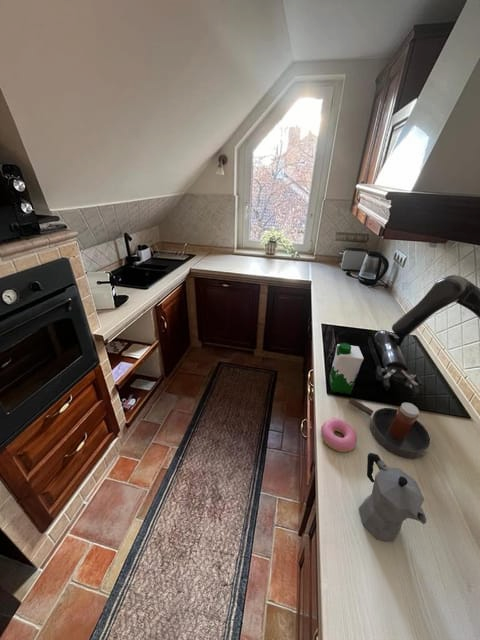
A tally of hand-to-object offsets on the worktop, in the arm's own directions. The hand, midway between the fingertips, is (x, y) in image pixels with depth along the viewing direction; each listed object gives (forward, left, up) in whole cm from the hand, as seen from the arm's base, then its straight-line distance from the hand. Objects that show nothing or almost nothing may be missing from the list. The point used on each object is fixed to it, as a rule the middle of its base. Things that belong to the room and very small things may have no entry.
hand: (401, 391), depth 86 cm
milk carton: (+15, -12, -11) cm, 22 cm away
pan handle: (+12, 0, -8) cm, 15 cm away
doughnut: (+23, +11, -11) cm, 28 cm away
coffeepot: (+20, +32, -11) cm, 39 cm away
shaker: (+3, +9, -10) cm, 14 cm away
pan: (+3, +9, -10) cm, 14 cm away
